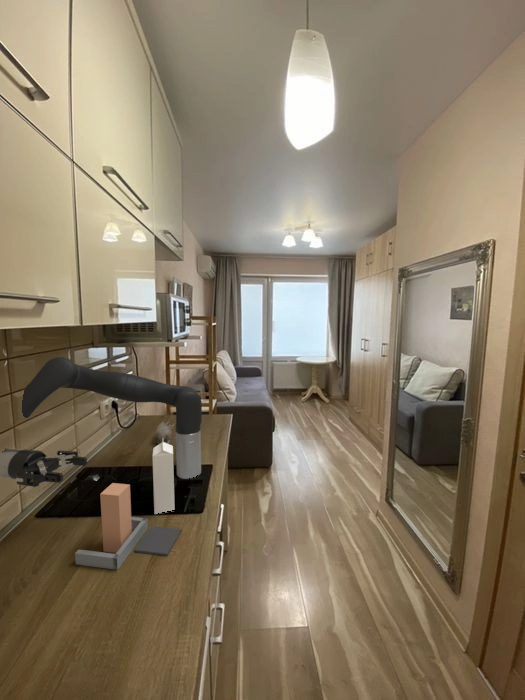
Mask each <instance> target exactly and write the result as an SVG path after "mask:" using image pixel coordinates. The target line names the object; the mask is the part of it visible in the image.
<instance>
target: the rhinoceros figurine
mask: <svg viewBox="0 0 525 700" xmlns="http://www.w3.org/2000/svg"><path fill="white" fill-rule="evenodd" d="M169 423H170V421H166V422H164V421H162V422H160V423H159V424H158V426H157V427H156V431H155V437H156V438H157V441H156V443H157V444H158V445H159V444H161V443H162V442H165V443H167V444H169V445H170V443H171V440H172V439H173V438H172V436H173V431H172V430H174V427H175V423H173V424H171V423H170V424H169Z"/></svg>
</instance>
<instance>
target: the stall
mask: <svg viewBox="0 0 525 700" xmlns="http://www.w3.org/2000/svg"><path fill="white" fill-rule="evenodd" d="M148 521H149V520H148V518H146V517H135V516H131V522H132V534H131V535H130V536H129V537H128V539H127V540H126V541H125V543H124V544H123V545H122V546H121V548H120V549H119V550H118V552H117V553H111V552H104V551H103V552H101V551H96V550H95V551H94V550H88V549H87V550H85V549H78V550H76V551H75V553H74V558H75V565H78V566H84V567H93V568H101V569H110V570H114V571H115V570H116V571H117V570H119V569H120V568H121V566H122V564H123V563H124V562H125V560H126V559H127V558H128V556H129V555H130V553H131V552H132V551H133V550H134V548H136V547H135V546H137V545H138V543H139V541H141V538H143V537H144V535H145V534H146V532H147V531H148V530H149V529H148V528H149V526H148V525H149V524H148Z"/></svg>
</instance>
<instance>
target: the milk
mask: <svg viewBox="0 0 525 700" xmlns="http://www.w3.org/2000/svg"><path fill="white" fill-rule="evenodd" d="M174 469H175V467H174V446H173V445H172V444H170V443H169V444H167V442H162V443H161V444H159V443H158V445H156V446H155V447H152V478H153V484H152V485H153V507H154V509H153V511H154V515H158V513H159V514H163V513H162V512H165V513H168V512H167V511H171V512H173V511H172V510H175V509H176V508H175V479H174V478H175V475H174V474H175V473H174Z"/></svg>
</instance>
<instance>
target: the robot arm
mask: <svg viewBox="0 0 525 700" xmlns="http://www.w3.org/2000/svg"><path fill="white" fill-rule="evenodd" d="M25 387H26V388H25ZM25 387H24V388H25V390H24V394H23V400H22V413H23V416H24V417H25V418H28V417H29V418H30V416H31V415H32V414H33V413H34V412H35V411H36V409H37V408H39V406H40V405H41V404H42V403H43V402H44V401H45V400H46V399H47V398H48V397H49V396H51V395H52V394H53V393H54V392H56V391H57V390H59V389H60V388H61V389H63V388H64V389H74V390H82V391H89V392H93V393H96V394H98V395H101V396H105V397H109V398H113V399H116V400H121V401H127V402H130V403H131V402H133V403H162V404H165V405H170V406H172V407H175V417H176V418H175V419H176V420H175V421H176V422H175V454H176V455H175V457H176V460H175V461H176V462H175V463H176V476H177V477H178V478H180V479H184V480H189V478H190V479H194V478H196V476H197V475H198V476H200V475H201V473H202V451H201V450H202V448H201V447H202V446H201V445H202V441H201V439H202V437H201V435H202V434H201V432H202V431H201V426H202V420H203V419H202V415H203V413H202V409H203V408H202V398H201V395H199V393H198V391H197V390H196V389H194V388H192V387H189V386H184V385H177V384H176V385H174V384H168V383H163V382H160V381H157V380H154V379H151V378H146V377H143V376H140V375H137V374H136V375H135V374H132V373H131V374H130V373H127V372H120V371H107V370H98V369H92V368H89V367H85V366H82V365H79V364H76V363H74V362H73V361H72V360H71V359H69V358H67V357H64V356H57V357H54V358H50V359H49V360H47V362H45V363H44V365H43V366H42V367H41V368H40V370H39V371H38V372H37V373H36V375H35V376H34V377H33V378H32V380H30V382H29V383H28V384H27V385H26V386H25ZM29 418H28V419H29ZM78 453H79V451H76V450H75V451H73V450H57V451H56V454H55V455H46V454H45V452H43V451H42V450H37V449H26V448H25V449H24V448H5V450H4V451H2V452H1V453H0V477H1V478H4V479H9V480H10V479H11V480H16V484H17V485H19V486H25V487H31V488H36V487H38V486H40V484H45V483H57V484H58V483H62V482H63V481H64V474H63V473H62V472H56V471H57V470H61V469H65V468H66V467H67V466H79V467H85V466H87V464H88V458H87V457H86V456H85V457H84V456H79V454H78ZM60 462H61V464H60ZM54 471H55V472H54ZM198 476H197V477H198ZM193 477H194V478H193Z"/></svg>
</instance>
